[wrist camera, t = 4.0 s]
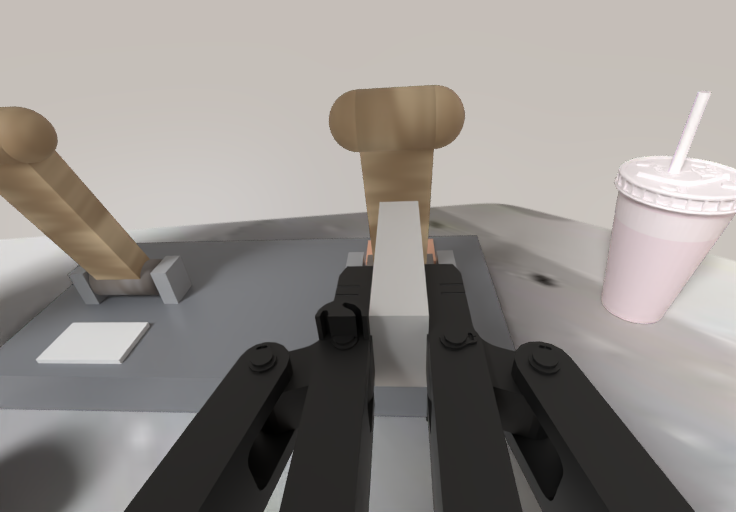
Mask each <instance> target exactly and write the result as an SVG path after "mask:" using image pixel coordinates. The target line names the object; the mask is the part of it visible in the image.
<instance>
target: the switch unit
mask: <svg viewBox="0 0 736 512" xmlns="http://www.w3.org/2000/svg"><path fill="white" fill-rule="evenodd" d="M136 244H137V245H138V246H139V247H140V248H141V250H142V251H143V252H144V253H145V254H146V255H147V256H148V258H149V259H162V261H161V262H160V263H159V264H158V265H157V266H156V267H155V268H154V270H153V271H152V272H151V273H150V274H151V276H152V279H153V281H154V283H155V285H156V287H157V289H158V292H159V294H160V295H98V294H96V293H95V292H94V291H93V290H92V288H91V286H90V283H89V273H88V272H87V271H86V270H85V269H84V268H82V267H81V266H80V265H79V266H78V267H76V268H75V269H74V270H73V271H72V272H70V273H69V274H68V276H69V277H70V279H71V281H72V282H73V284H72V285H71V286H70V287H69V288H68V289H67V290H65V291H64V292H63V293H62V294H61V295H60V296H59V297H57V298H56V299H55V300H54V301H53V302H52V303H51V304H49V305H48V306H47V307H46V308H45V309H44V310H43V311H41V312H40V313H39V314H38V315H37V316H36V317H34V318H33V319H32V320H31V321H30V322H29V323H28V324H26V325H25V326H24V327H23V328H22V329H21V330H20V331H18V332H17V333H16V334H15V335H14V336H13V337H12V338H10V339H9V340H8V341H7V342H6V343H5V344H4V345H2V346H1V347H0V409H34V410H86V411H138V412H191V413H198V412H199V411H200V409H201V408H202V407H203V405H204V404H205V403H206V401H207V400H208V399H209V397H210V396H211V395H212V393H213V392H214V391H215V389H216V388H217V387H218V385H219V384H220V383H221V381H222V380H223V379H224V377H225V376H226V375H227V373H228V372H229V371H230V369H231V368H232V367H233V365H234V364H235V363H236V361H237V360H238V359H239V357H240V356H241V355H242V354H243V353H244V352H245V351H246V350H247V349H249V348H251V347H253V346H255V345H256V344H260V343H264V342H276V343H279V344H281V345H284V347H285V348H286V349H287V350H288V351H292V350H296V349H300V348H304V347H307V346H310V345H312V344H313V343H315V342H317V341H318V340H319V336H318V331H317V326H316V320H315V315H316V313H317V311H318V310H319V309H320V308H321V307H322V306H324V305H325V304H327V303H329V302H332V301H334V297H335V293H336V288H337V284H338V279H339V275H340V274H341V273H342V272H343V271H344V269H345V268H346V267H347V266H367V258H368V255H373V254H372V246H371V238H336V239H292V240H248V241H205V242H161V243H136ZM427 254H433V261H434V264H453V265H454V266H455V267H456V268H457V269H458V270H459V271H460V272H461V275H462V279H463V285H464V288H465V294H466V297H467V301H468V306H469V310H470V315H471V319H472V323H473V327H474V329H475V331H476V332H477V333H478V334H479V336H480V337H481V338H482V339H483V340H485V341H486V342H488V343H490V344H492V345H494V346H497V347H500V348H504V349H508V350H512V351H515V348H514V345H513V342H512V339H511V336H510V333H509V330H508V327H507V324H506V321H505V318H504V315H503V312H502V309H501V306H500V303H499V300H498V297H497V294H496V291H495V288H494V285H493V282H492V279H491V276H490V273H489V270H488V267H487V264H486V261H485V258H484V255H483V252H482V249H481V246H480V243H479V240H478V237H477V235H468V236H428V246H427ZM374 400H375V408H374V416H400V417H427V387H393V386H375V383H374Z"/></svg>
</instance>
